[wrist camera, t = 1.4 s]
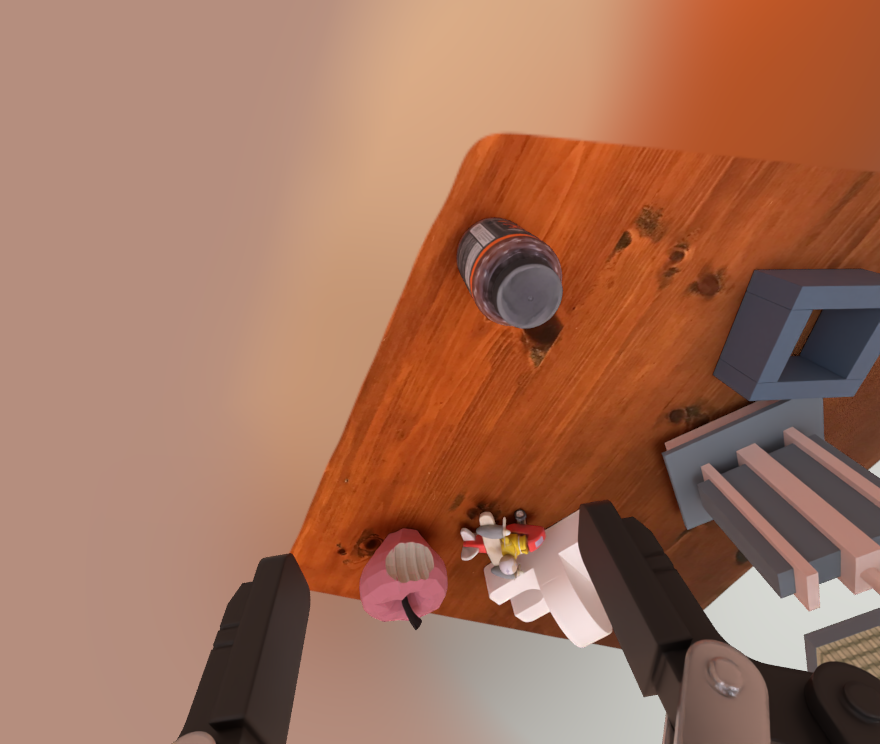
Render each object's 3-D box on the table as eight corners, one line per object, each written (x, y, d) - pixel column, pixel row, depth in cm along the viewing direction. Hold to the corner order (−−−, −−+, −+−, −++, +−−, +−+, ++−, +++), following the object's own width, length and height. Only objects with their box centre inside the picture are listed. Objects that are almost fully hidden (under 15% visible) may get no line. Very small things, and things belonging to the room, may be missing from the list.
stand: (754, 269, 37) (802, 286, 33) (862, 268, 38) (922, 285, 34) (712, 375, 42) (748, 401, 38) (807, 371, 43) (854, 396, 39)
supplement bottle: (539, 237, 33) (601, 276, 24) (501, 299, 36) (543, 359, 26) (478, 201, 32) (517, 227, 22) (441, 269, 34) (462, 321, 24)
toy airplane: (543, 512, 50) (562, 558, 44) (502, 557, 53) (515, 605, 48) (481, 490, 47) (493, 537, 41) (442, 539, 50) (448, 589, 45)
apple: (449, 516, 48) (462, 598, 40) (432, 563, 52) (441, 647, 44) (368, 509, 47) (363, 593, 38) (357, 559, 50) (350, 645, 42)
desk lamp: (669, 516, 53) (993, 948, 25) (644, 444, 46) (1050, 924, 18) (812, 456, 50) (1362, 863, 22) (808, 370, 43) (1595, 798, 15)
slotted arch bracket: (630, 535, 54) (681, 617, 45) (519, 598, 58) (544, 685, 49) (596, 498, 50) (644, 581, 40) (480, 569, 54) (499, 658, 45)
